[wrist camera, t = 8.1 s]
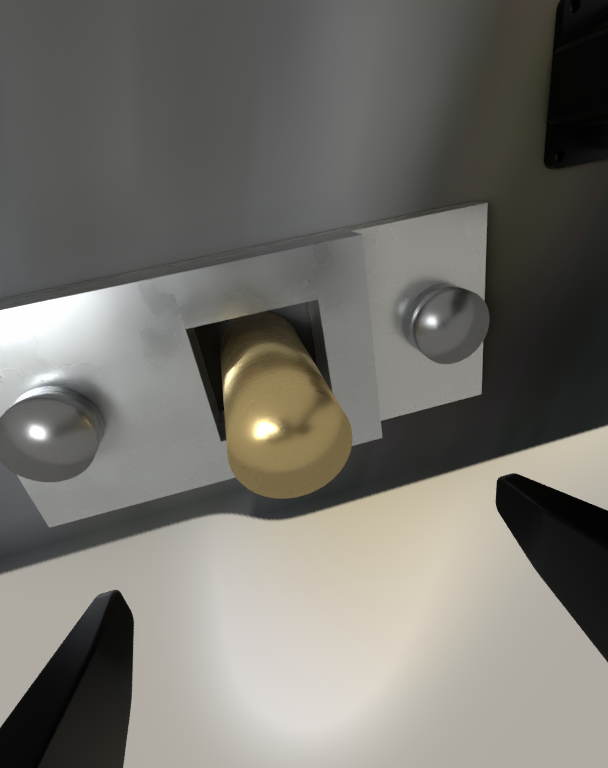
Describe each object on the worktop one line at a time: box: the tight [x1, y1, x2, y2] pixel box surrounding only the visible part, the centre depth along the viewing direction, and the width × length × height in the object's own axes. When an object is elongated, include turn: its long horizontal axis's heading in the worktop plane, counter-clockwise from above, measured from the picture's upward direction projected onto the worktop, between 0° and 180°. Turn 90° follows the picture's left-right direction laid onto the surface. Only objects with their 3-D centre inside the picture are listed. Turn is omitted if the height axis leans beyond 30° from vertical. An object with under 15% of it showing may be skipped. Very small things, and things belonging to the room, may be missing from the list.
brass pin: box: [220, 311, 353, 498], centre depth 17 cm, size 4×4×9 cm
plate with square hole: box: [0, 202, 490, 527], centre depth 19 cm, size 23×10×4 cm, turn 100°
